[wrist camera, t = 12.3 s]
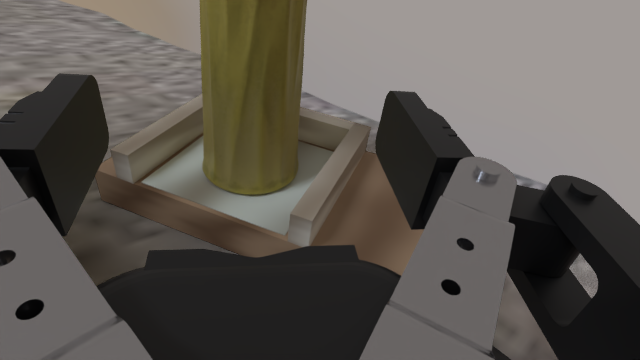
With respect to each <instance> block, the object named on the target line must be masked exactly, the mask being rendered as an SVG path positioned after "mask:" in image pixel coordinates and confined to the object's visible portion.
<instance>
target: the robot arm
mask: <svg viewBox="0 0 640 360" xmlns="http://www.w3.org/2000/svg"><path fill="white" fill-rule="evenodd" d="M108 144H109V133H108V127H107V123H106V118H105V114H104V109H103V105H102V101H101V96H100V92H99V88H98V84H97V81H96V79H95V78H94V76H92V75H79V74H58V75H57V76H56V77H55V78H54V79H53V80H52V81H51V83H50V84H49V85H48V86H47V87H46V88H45V89H44V90H43V91H42V92H35V93H33V94H31V95H29V96H27V97H25V98H23V99H21V100H19V101H18V102H17V103H16V104H15V105H14V106H13V107H12V108H11V109H10V110H9V111H8V114H5V115H4V116H3V117H2V118H1V119H0V360H511V359H509V358H508V357H507V356H506V355H504V354H503V353H502V352H500V351H499V350H498V349H496V348H495V347H494V346H493V345H492V344H493V339H494V334H495V329H496V323H497V318H498V313H499V308H500V303H501V298H502V293H503V287H504V282H505V277H506V272H508V274H509V276H510V277H511V279H512V281H513V282H514V284H515V286H516V288H517V289H518V291H519V293H520V294H521V296H522V298H523V300H524V301H525V303H526V305H527V306H528V308H529V310H530V312H531V313H532V315H533V317H534V318H535V320H536V322H537V324H538V325H539V327H540V329H541V330H542V332H543V334H544V336H545V337H546V339H547V341H548V342H549V344H550V346H551V348H552V349H553V351H554V353H555V354H556V356H557V358H558V360H640V225H639V224H638V223H637V222H636V221H635V220H634V219H633V218H632V217H631V216H630V215H629V214H628V213H627V212H626V211H625V210H624V209H622V207H621V206H620V205H619V204H617V203H616V202H615V201H614V200H613V199H612V198H611V197H610V196H609V195H608V194H607V193H606V192H605V191H603V190H602V189H601V188H599V187H597V186H596V185H594V184H592V183H590V182H588V181H586V180H583V179H580V178H577V177H573V176H567V175H559V176H555V177H553V178H552V179H551V181H550V183H549V184H548V186H547V188H546V189H545V191H543V190H538V189H534V188H529V187H524V186H519V185H517V181H516V178H515V176H514V175H513V173H512V172H511V171H510V170H508V169H507V168H506V167H504V166H503V165H500V164H499V163H497V162H494V161H492V160H489V159H486V158H480V157H475V156H474V155H473V154H472V153H471V151H470V150H469V149H468V148H467V146H466V145H465V144H464V143H463V141H462V140H461V139H460V138H459V137H457V134H456V133H455V131H454V130H453V129H451V127H450V125H449V124H448V123H447V122H446V120H445V119H444V118H443V117H442V116H440V115H439V114H437V113H436V112H434V111H433V110H431V109H428V108H427V107H426V105H425V104H424V103H423V102H422V100H421V99H420V98H419V96H418V95H417V94H416V93H415V92H401V91H390V92H389V93H388V94H387V96H386V99H385V103H384V107H383V111H382V116H381V120H380V124H379V128H378V132H377V136H376V154H377V157H378V159H379V161H380V164H381V166H382V168H383V170H384V172H385V174H386V177H387V179H388V181H389V183H390V185H391V187H392V189H393V192H394V194H395V196H396V198H397V200H398V202H399V205H400V207H401V209H402V211H403V213H404V215H405V217H406V220H407V222H408V224H409V226H410V228H411V230H418V229H424V231H423V233H422V235H421V237H420V239H419V241H418V243H417V245H416V247H415V249H414V251H413V253H412V255H411V257H410V260H409V262H408V264H407V266H406V268H405V270H404V272H403V274H402V276H401V275H399V274H397V273H396V272H394V271H392V270H390V269H388V268H386V267H383V266H380V265H378V264H375V263H372V262H368V261H364V260H359V258H358V255H357V252H356V248H355V245H327V246H306V247H302V248H297V249H293V250H289V251H285V252H281V253H276V254H272V255H268V256H264V257H248V256H242V255H236V254H230V253H224V252H218V251H212V250H206V249H187V250H152V251H149V253H148V257H147V261H146V265H145V267H143V268H139V269H135V270H132V271H129V272H126V273H123V274H121V275H118V276H116V277H114V278H111V279H109V280H107V281H106V282H104V283H102V284H100V285H98V286H96V285H95V284H94V283H93V281H92V280H91V278H90V277H89V275H88V274H87V272H86V271H85V269H84V268H83V267H82V265H81V264H80V262H79V261H78V259H77V258H76V256H75V255H74V254H73V252H72V251H71V249H70V248H69V246H68V245H67V243H66V242H65V240H64V239H63V238H62V236H66V235H67V233H68V231H69V229H70V227H71V225H72V223H73V221H74V219H75V217H76V214H77V212H78V210H79V208H80V206H81V204H82V202H83V200H84V198H85V196H86V194H87V192H88V189H89V187H90V185H91V183H92V181H93V179H94V177H95V175H96V173H97V171H98V169H99V167H100V165H101V162H102V160H103V158H104V156H105V154H106V152H107V149H108ZM579 254H581V255H582V256H583V257H584V259H585V260H586V261H587V262H588V263H589V265H590V266H591V267H592V268H593V270H594V271H595V273H596V275H597V278H598V290H597V293H596V294H595V296H594V297H593V298H592V299H591V297H590V296H589V295H588V293H587V292H586V291H585V289H584V288H583V287H582V285H581V284H580V283H579V281H578V280H577V279H576V277H575V276H574V275H573V273H572V272H571V271H570V269H569V267H570V266H571V265H572V263H573V262H574V261H575V259H576V258H577V257H578V255H579Z"/></svg>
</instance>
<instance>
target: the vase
mask: <svg viewBox="0 0 640 360" xmlns="http://www.w3.org/2000/svg"><path fill="white" fill-rule="evenodd" d="M306 6H307V0H200V27H201V28H200V29H201V71H202V103H203V156H204V158H203V163H202V170H203V172H204V174H205V175H206V177H207V178H208V179H209V180H210V181H211V182H212V183H213V184H214V185H216V186H217V187H219V188H221V189H224V190H226V191H229V192H232V193H237V194H245V195H259V194H265V193H270V192H274V191H277V190H279V189H281V188H283V187H285V186H286V185H288V184H289V183H291V182H292V181H293V179H294V178H295V176H296V174H297V171H298V165H299V162H298V127H299V115H300V100H301V88H302V75H303V74H302V73H303V57H304V35H305V34H304V33H305V19H306Z"/></svg>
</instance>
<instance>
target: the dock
mask: <svg viewBox="0 0 640 360" xmlns="http://www.w3.org/2000/svg"><path fill="white" fill-rule="evenodd" d="M370 128H371V127H368V126H365V125H361V124H358V123H354V122H351V121H348V120H344V119H341V118H337V117H334V116H330V115H327V114H323V113H320V112H316V111H313V110H309V109H306V108H302V107H300V115H299V127H298V162H299V165H298V171H297V174H296V176H295V178H294V179H293V181H292V182H291V183H289V184H288V185H286V186H285V187H283V188H281V189H279V190H277V191H274V192H270V193H265V194H259V195H245V194H237V193H232V192H229V191H226V190H224V189H221V188H219V187H217V186H216V185H214V184H213V183H212V182H211V181H210V180H209V179H208V178H207V177H206V175H205V174H204V172H203V170H202V163H203V158H204V156H203V103H202V94H201V95H199V96H197V97H196V98H194V99H193V100H191V101H189V102H188V103H186V104H184V105H183V106H181V107H179V108H178V109H176V110H174V111H173V112H171V113H169V114H168V115H166V116H164V117H163V118H161V119H160V120H158V121H156V122H155V123H153V124H151V125H150V126H148V127H146V128H145V129H143V130H141V131H140V132H138V133H136V134H135V135H133V136H131V137H130V138H128V139H127V140H125V141H123V142H122V143H120V144H118V145H117V146H115V147H113V148H112V149H110V150H111V155H112V157H111V158H109V159H107V160H106V161H104V162H103V163H101V165H100V167H99V169H98V171H97V173H96V175H95V178H96V181H97V185H98V188H99V192H100V195H101V199H102V200H103V201H105V202H108V203H110V204H113V205H115V206H118V207H121V208H123V209H126V210H128V211H131V212H133V213H136V214H138V215H141V216H143V217H146V218H148V219H151V220H153V221H156V222H159V223H161V224H164V225H166V226H169V227H171V228H174V229H176V230H179V231H181V232H184V233H186V234H189V235H191V236H194V237H196V238H199V239H202V240H204V241H207V242H209V243H212V244H214V245H217V246H219V247H222V248H224V249H227V250H229V251H232V252H234V253H237V254H240V255H242V256H248V257H264V256H268V255H272V254H276V253H281V252H285V251H289V250H293V249H297V248H302V247H306V246H327V245H355V248H356V252H357V255H358V258H359V260H364V261H368V262H372V263H375V264H378V265H380V266H383V267H386V268H388V269H390V270H392V271H394V272H396V273H397V274H399V275H401V276H402V274H403V272H404V270H405V268H406V266H407V264H408V262H409V260H410V257H411V255H412V253H413V251H414V249H415V247H416V245H417V243H418V241H419V239H420V237H421V235H422V233H423V231H424V229H418V230H411V228H410V226H409V224H408V222H407V220H406V217H405V215H404V213H403V211H402V209H401V207H400V205H399V202H398V200H397V198H396V196H395V194H394V192H393V189H392V187H391V185H390V183H389V181H388V179H387V177H386V174H385V172H384V170H383V168H382V166H381V164H380V161H379V159H378V157H377V154H374V153H371V152H368V151H366V147H367V142H368V137H369V133H370Z"/></svg>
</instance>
